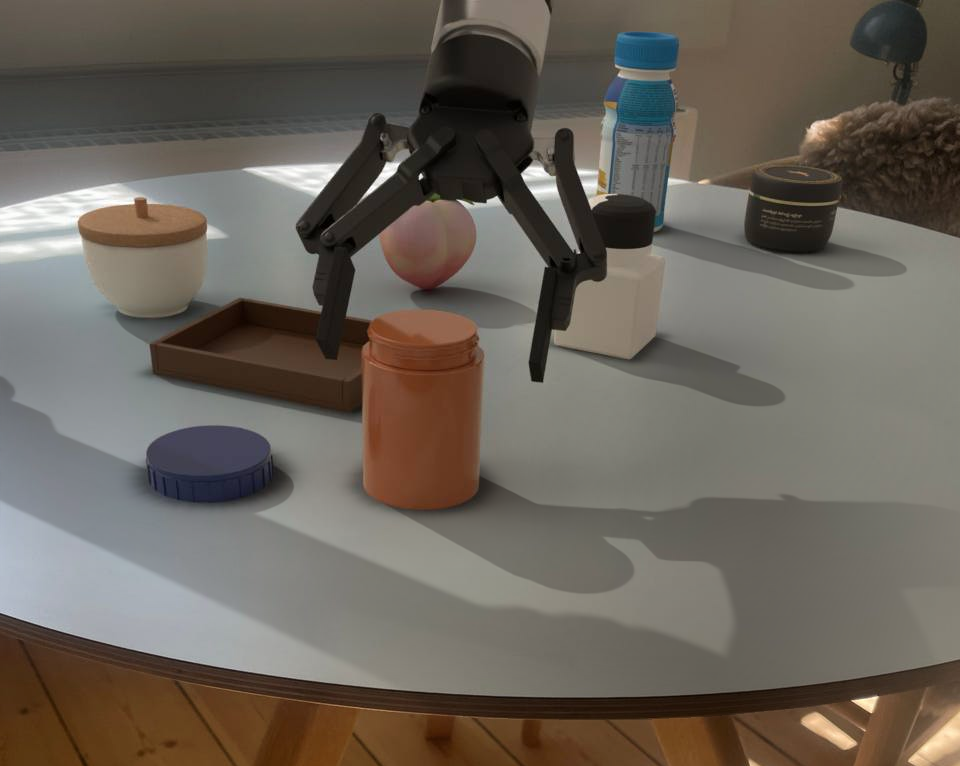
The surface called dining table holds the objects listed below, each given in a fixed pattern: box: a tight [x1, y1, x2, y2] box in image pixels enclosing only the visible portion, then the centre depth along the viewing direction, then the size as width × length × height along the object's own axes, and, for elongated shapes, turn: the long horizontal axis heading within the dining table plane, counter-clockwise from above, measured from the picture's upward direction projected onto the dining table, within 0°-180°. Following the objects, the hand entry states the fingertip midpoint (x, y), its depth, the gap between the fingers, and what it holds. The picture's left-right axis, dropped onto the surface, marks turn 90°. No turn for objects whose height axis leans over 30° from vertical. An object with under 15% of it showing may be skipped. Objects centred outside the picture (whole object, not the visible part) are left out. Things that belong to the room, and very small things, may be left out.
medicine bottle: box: [553, 194, 666, 360], centre depth 98 cm, size 7×7×12 cm
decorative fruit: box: [378, 194, 478, 291], centre depth 109 cm, size 9×8×10 cm
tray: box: [149, 297, 373, 414], centre depth 92 cm, size 17×13×2 cm
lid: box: [145, 424, 274, 503], centre depth 75 cm, size 8×8×2 cm
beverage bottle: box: [595, 31, 680, 233], centre depth 130 cm, size 8×8×20 cm
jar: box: [743, 164, 843, 255], centre depth 129 cm, size 10×10×8 cm
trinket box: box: [77, 196, 208, 319], centre depth 101 cm, size 11×11×9 cm
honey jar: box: [361, 309, 486, 511], centre depth 73 cm, size 8×8×11 cm
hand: (429, 362), depth 73 cm, fingers open, 13 cm apart
